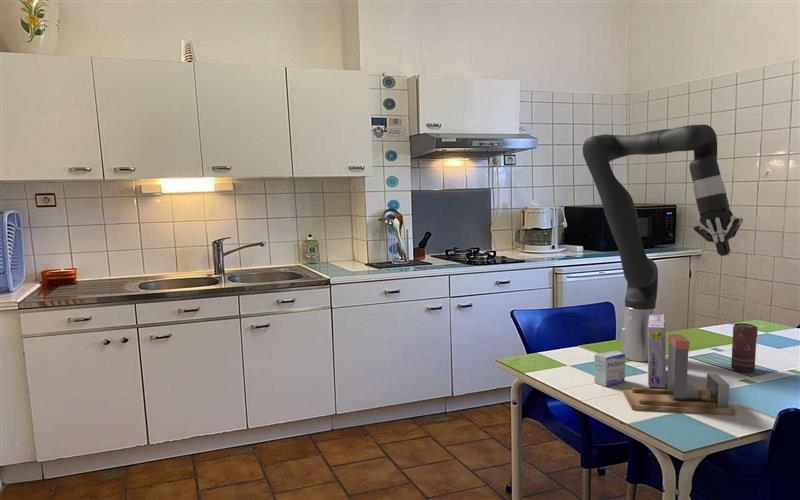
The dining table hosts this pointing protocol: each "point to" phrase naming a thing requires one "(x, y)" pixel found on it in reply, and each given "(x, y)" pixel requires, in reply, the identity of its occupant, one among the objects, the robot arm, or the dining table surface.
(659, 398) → the board
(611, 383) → the medicine box
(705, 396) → the walnut
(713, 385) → the grey stop block
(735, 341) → the can
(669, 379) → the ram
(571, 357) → the dining table surface
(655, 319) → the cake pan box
